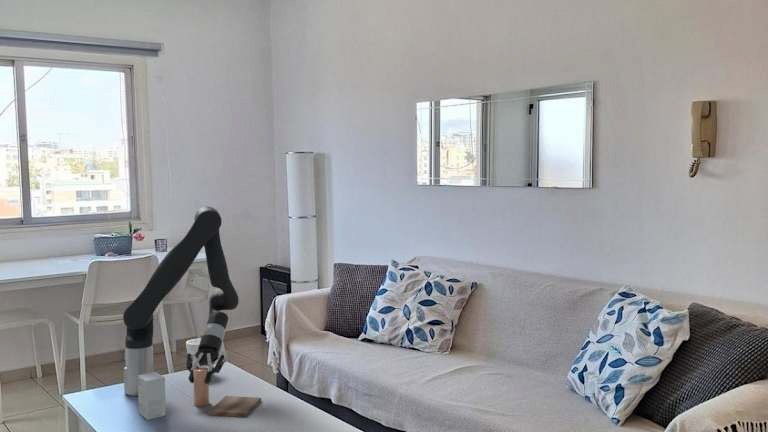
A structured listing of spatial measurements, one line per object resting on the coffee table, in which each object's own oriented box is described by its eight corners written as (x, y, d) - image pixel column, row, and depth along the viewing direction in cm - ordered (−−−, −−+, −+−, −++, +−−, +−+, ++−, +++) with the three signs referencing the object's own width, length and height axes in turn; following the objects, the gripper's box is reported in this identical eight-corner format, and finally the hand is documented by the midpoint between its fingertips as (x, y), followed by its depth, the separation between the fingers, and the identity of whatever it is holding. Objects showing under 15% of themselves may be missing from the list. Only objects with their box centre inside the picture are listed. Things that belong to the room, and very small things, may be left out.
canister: (191, 405, 229) (190, 371, 229) (197, 400, 234) (197, 367, 233) (205, 406, 229) (204, 372, 228) (211, 401, 234) (210, 367, 233)
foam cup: (207, 377, 260) (206, 344, 260) (183, 377, 261) (183, 344, 260) (214, 370, 270) (213, 338, 269) (191, 369, 270) (190, 338, 269)
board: (208, 414, 221) (208, 411, 221) (225, 399, 236) (225, 395, 236) (246, 416, 219) (246, 413, 219) (261, 401, 234) (261, 397, 234)
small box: (166, 415, 220) (165, 377, 219) (147, 420, 216) (146, 381, 215) (157, 408, 227) (156, 371, 226) (138, 413, 223) (137, 375, 222)
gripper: (190, 332, 238) (175, 376, 227) (228, 334, 236) (215, 378, 225) (196, 343, 244) (182, 386, 233) (234, 345, 242) (222, 388, 231)
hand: (199, 382), depth 229 cm, fingers closed on canister, 5 cm apart
